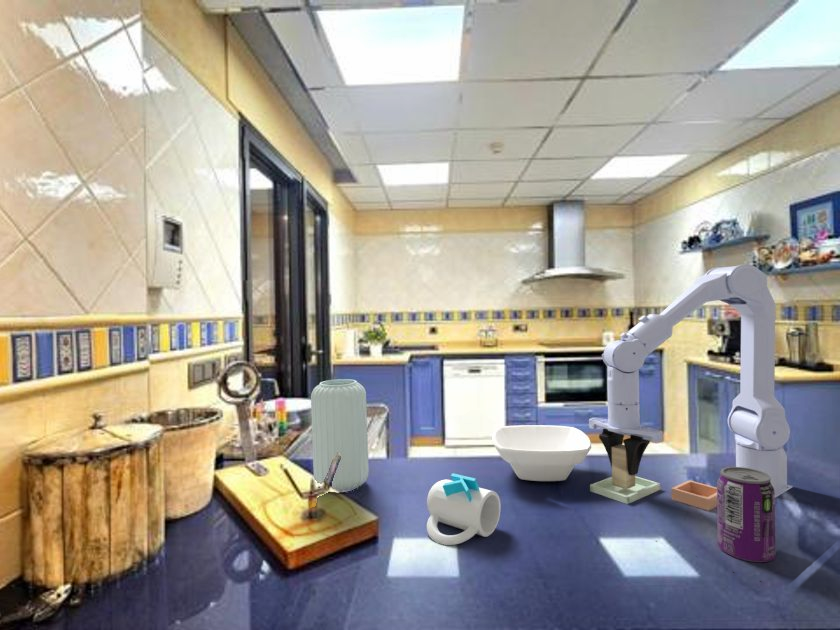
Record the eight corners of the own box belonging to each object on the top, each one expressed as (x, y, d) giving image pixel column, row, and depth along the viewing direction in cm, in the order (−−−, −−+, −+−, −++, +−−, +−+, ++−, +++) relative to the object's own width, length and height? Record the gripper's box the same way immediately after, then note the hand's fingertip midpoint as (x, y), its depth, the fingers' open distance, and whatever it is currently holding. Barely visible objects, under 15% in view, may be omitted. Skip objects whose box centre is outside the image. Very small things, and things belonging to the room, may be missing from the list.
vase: (315, 500, 98) (310, 388, 97) (313, 480, 109) (309, 379, 108) (372, 493, 100) (369, 384, 100) (365, 474, 111) (362, 376, 111)
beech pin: (621, 481, 98) (620, 444, 98) (635, 485, 96) (634, 447, 95) (612, 484, 96) (611, 446, 96) (626, 489, 94) (625, 450, 94)
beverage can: (785, 569, 68) (784, 483, 68) (729, 565, 70) (728, 481, 70) (761, 544, 75) (760, 466, 75) (710, 541, 77) (709, 464, 76)
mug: (434, 459, 89) (492, 472, 82) (447, 498, 92) (504, 514, 85) (395, 505, 81) (455, 524, 74) (411, 546, 84) (470, 569, 77)
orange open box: (689, 493, 95) (689, 480, 95) (726, 504, 90) (726, 490, 90) (671, 502, 92) (671, 488, 91) (708, 514, 86) (708, 499, 86)
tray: (623, 480, 103) (622, 472, 103) (660, 492, 96) (660, 483, 96) (590, 493, 96) (589, 484, 96) (627, 507, 90) (627, 497, 90)
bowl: (492, 459, 119) (491, 424, 119) (580, 461, 116) (580, 425, 116) (493, 493, 99) (492, 450, 98) (600, 495, 96) (599, 451, 96)
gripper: (579, 399, 100) (580, 466, 100) (647, 411, 88) (648, 487, 88) (600, 395, 104) (601, 459, 104) (668, 405, 92) (669, 478, 92)
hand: (624, 471), depth 96 cm, fingers closed on beech pin, 3 cm apart
